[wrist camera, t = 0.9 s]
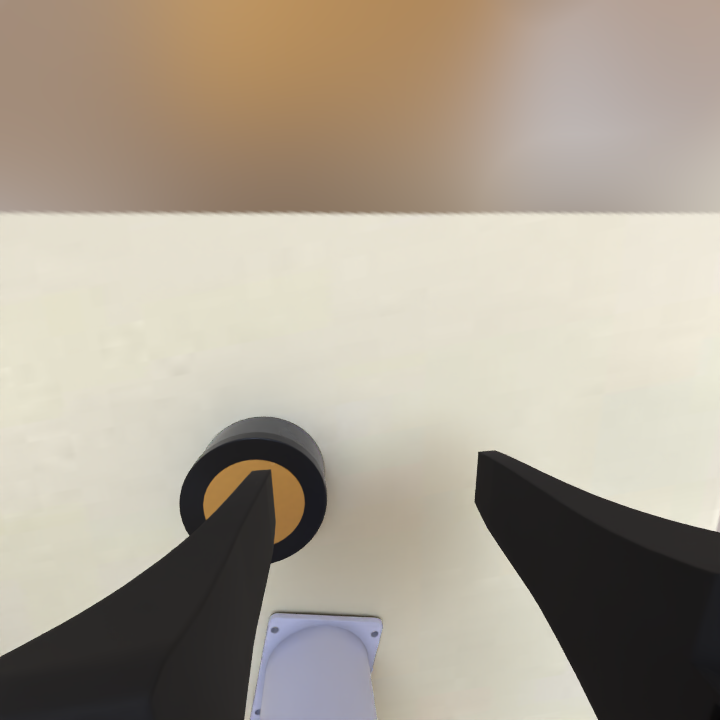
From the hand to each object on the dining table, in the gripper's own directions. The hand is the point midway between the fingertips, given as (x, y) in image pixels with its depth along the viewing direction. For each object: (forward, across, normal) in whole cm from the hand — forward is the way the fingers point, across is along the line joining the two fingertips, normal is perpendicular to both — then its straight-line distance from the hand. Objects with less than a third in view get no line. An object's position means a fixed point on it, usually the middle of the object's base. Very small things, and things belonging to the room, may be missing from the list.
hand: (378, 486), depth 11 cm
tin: (+9, +6, +5) cm, 12 cm away
